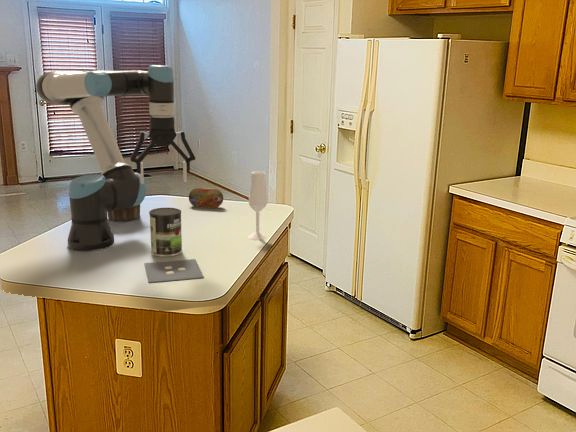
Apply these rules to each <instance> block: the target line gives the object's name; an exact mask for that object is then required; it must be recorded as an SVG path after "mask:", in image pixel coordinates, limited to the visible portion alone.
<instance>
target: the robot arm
mask: <svg viewBox="0 0 576 432" xmlns="http://www.w3.org/2000/svg"><path fill="white" fill-rule="evenodd" d="M174 81H175V78H174V70H173V67H172V65H171V66H170V65H163V64H158V65H155V64H152V65H149V66H148V68H147V71H146V70H140V69H132V70H101V69H100V70H98V69H97V70H96V69H95V70H90V71H89V70H88V71H87V70H79V71H78V70H76V71H74V70H71V71H70V70H67V71H65V70H62V71H59V70H52V71H48V72H45V73H43V74H42V75H40V76H39V78H38V79H37V81H36V85H35V89H36V92H37V95H38V96H39V97H40V99H41V100H43V101H44V102H46V103H48V104H51V105H55V106H56V105H57V106H58V105H63V106H64V105H66V106H67V105H69V107H70V109H71V111H72V113H74V114H76V115H77V116H78V118H79V120H80V122H81V125H82V127H83V130H84V132H85V134H86V137H87V139H88V142H89V144H90V146H91V149H92V152H93V154H94V157H95V158H96V162H97V164H98V166H99V169H100V171H101V173H100V174H96V173H94V174H86V175H81V176H77V177H76V178H75V177H74V179H72V180H71V181H70V182H69V184H68V197H69V207H70V217H71V226H70V229H69V233H68V237H67V247H68V248H70V249H71V250H75V251H81V252H93V251H97V250H98V251H101V250H104V249H107V248H110V247H112V246H113V245H114V244H115V236H114V235H115V234H114V233H113V230H112V228H111V226H110V224H109V221H108V220H109V218H108V211H113V210H118V209H123V208H128V207H129V208H130V207H133V206H136V205H139V204H140V205H141V204H142V203H143V201H144V200H145V198H146V193H147V184H146V180H145V178H144V163H143V162H142V161H143V160H144V159H145V158H146V156H147V155H148V154H149V153H150V152H151V151H152V149H153V148H154V147H155V146H157V147H163V146H164V147H169V146H170V145H171V146H172V147H173V148H174V149H175V151H176V152H177V153H178V154H179V155H180V157H182V158H183V159H184V160H185V161H183V160H182V173H183V174H182V180H183V183H187V181H188V180H187V179H188V177H187V175H188V174H187V173H190V171H191V165H190V164H191V162H192V161H195V160H196V157H195V154H194V152H193V151H192V149H191V147H190V145H189V143H188V141H187V139H186V134H185V132H184V130H180V131H176V130H175V117H174V116H175V103H174V101H175V100H174V99H175V95H174V92H175V91H174V89H175V88H174ZM139 95H140V96H148V98H149V99H148V100H149V101H148V104H149V105H148V106H149V115H150V117H149V132H145V131H142V130H141V131H140V132H139V138H138V140H137V143H136V145H135V147H134V149H133V151H132V153H131V154H130V155H131V156H130V162H132V163H134V164H135V165H136V172H134V170H133V168H132V166H131V165H130V164H128V163H126V161H125V160H124V157H123V155H122V153H121V150H120V147H119V145H118V144H117V141H116V139H115V136H114V134H113V131H112V129H111V126H110V124H109V122H108V119H107V117H106V115H105V111H104V110H103V107H102V106H103V105H104V99H105V97H113V96H114V97H115V96H118V97H119V96H139ZM147 137H149V138H150V140H151V141H150V142H149V143H148V144H147V146H146V147H145V148H144V149H143V151H142V152H141V154H140V155H139V156H138V154H139V152H140V150H141V148H142V146H143V143H144V141H145V140H146V139H147ZM176 137H177V138H178V139H179V140H181V142H182V145H183V146H184V147H185V150H186V151H187V154H188V155H189V156H187V155H186V153H184V151H183V150H182V149H181V148H180V146H178V144H176V142H175V141H174V140H175V139H176ZM137 156H138V157H137Z"/></svg>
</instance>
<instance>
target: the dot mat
mask: <svg viewBox="0 0 576 432" xmlns="http://www.w3.org/2000/svg"><path fill="white" fill-rule="evenodd" d="M144 268H145V273H146V277H147V281H148V284H151V283H153V284H154V283H163V282H175V281H184V280H185V281H186V280H196V279H205V277H204V274H203V271H202V270H201V268H200V266H199V264H198V261H197V260H196V258H191V259H181V260H180V259H178V260H169V261H168V260H166V261H165V260H164V261H156V262H145V263H144Z"/></svg>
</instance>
